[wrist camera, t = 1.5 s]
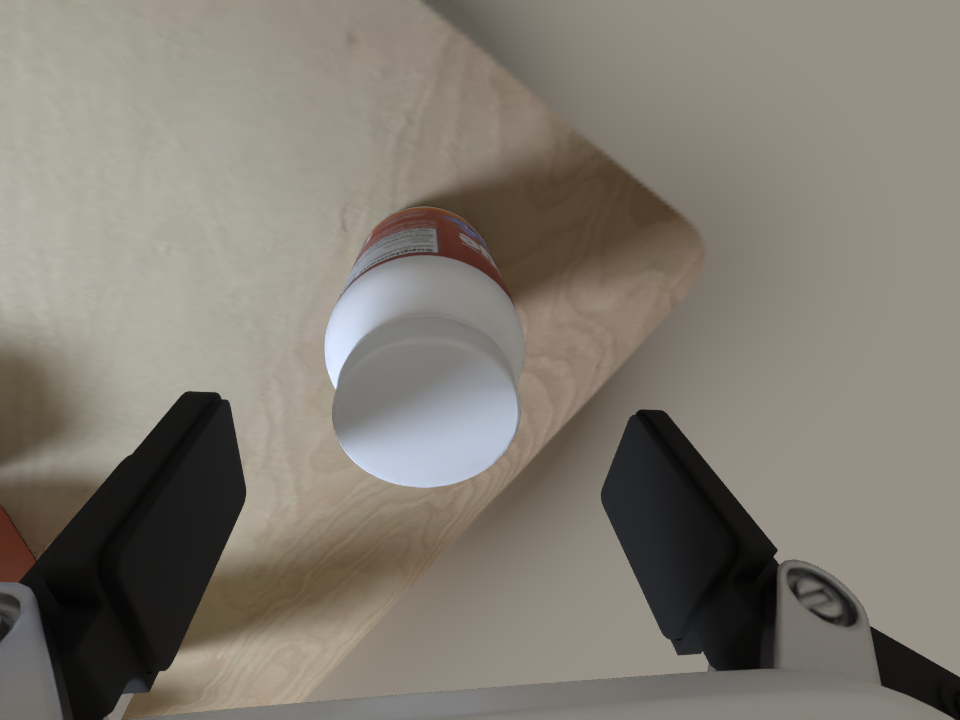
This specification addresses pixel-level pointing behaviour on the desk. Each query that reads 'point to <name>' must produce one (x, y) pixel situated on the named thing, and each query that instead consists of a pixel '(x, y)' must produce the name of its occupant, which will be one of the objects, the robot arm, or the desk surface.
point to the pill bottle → (425, 353)
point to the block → (12, 552)
